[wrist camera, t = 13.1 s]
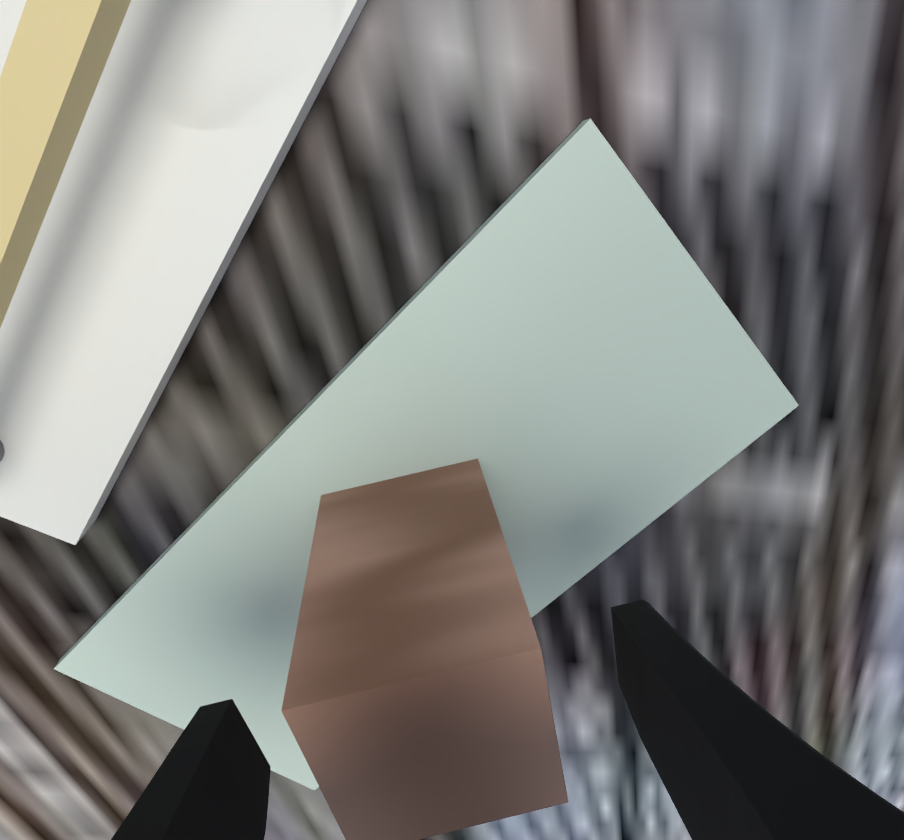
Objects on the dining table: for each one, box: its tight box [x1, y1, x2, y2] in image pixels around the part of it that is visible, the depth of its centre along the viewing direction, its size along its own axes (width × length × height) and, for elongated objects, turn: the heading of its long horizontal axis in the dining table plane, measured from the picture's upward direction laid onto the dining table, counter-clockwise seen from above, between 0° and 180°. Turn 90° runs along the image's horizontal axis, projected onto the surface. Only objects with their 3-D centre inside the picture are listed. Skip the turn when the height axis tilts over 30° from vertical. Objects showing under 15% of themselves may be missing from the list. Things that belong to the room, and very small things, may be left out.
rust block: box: [281, 459, 568, 840], centre depth 12 cm, size 4×4×6 cm
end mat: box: [54, 119, 799, 790], centre depth 15 cm, size 9×19×1 cm, turn 134°
